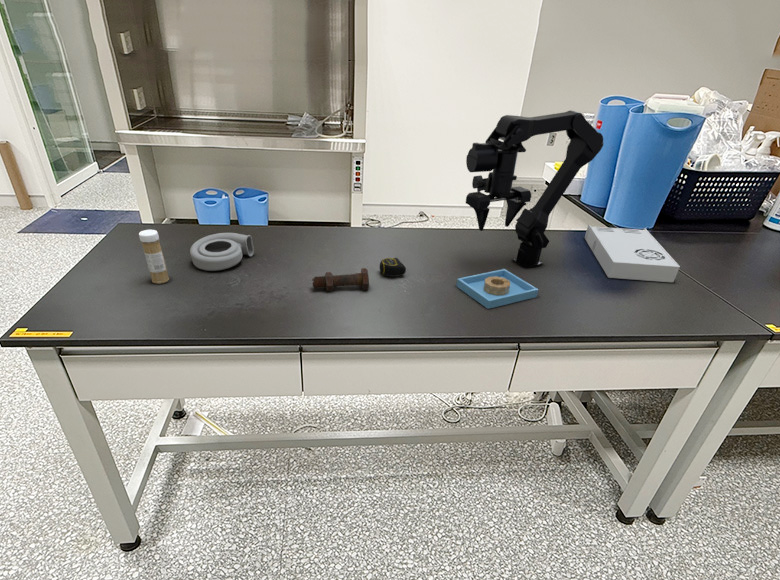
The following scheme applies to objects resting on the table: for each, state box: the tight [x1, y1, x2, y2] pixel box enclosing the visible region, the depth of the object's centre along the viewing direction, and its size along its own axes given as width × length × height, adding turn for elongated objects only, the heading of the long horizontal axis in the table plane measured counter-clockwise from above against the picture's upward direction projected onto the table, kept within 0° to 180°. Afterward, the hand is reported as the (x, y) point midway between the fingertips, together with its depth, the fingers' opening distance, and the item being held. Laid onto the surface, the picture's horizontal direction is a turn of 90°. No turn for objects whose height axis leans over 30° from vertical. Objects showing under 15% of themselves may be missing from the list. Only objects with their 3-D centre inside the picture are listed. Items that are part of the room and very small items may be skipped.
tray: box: [455, 268, 539, 310], centre depth 137 cm, size 17×15×2 cm
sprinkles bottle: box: [138, 229, 170, 285], centre depth 132 cm, size 5×5×13 cm
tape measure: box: [379, 257, 407, 277], centre depth 143 cm, size 7×7×4 cm
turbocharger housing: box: [189, 232, 255, 272], centre depth 146 cm, size 17×6×15 cm
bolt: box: [311, 267, 370, 292], centre depth 134 cm, size 6×5×15 cm
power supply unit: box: [584, 224, 681, 283], centre depth 158 cm, size 19×33×5 cm, turn 174°
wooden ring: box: [484, 276, 510, 295], centre depth 137 cm, size 7×7×2 cm
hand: (493, 228), depth 143 cm, fingers open, 9 cm apart
